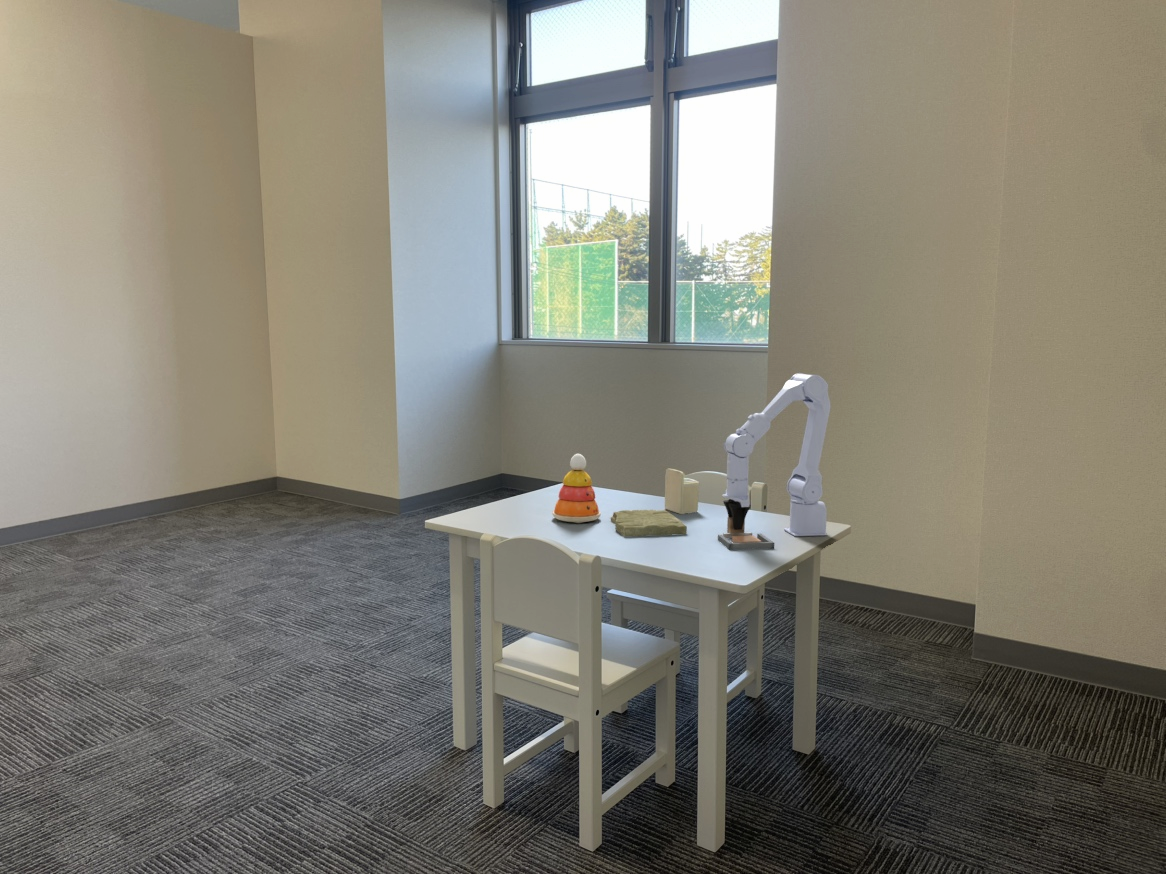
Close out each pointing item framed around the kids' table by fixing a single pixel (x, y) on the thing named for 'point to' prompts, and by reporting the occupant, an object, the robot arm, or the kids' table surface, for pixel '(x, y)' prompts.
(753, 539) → the terracotta tile
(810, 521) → the robot arm
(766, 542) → the slate frame
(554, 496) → the kids' table surface
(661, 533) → the decorative tile
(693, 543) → the kids' table surface
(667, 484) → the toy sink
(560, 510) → the stacking toy
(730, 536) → the walnut scraper
